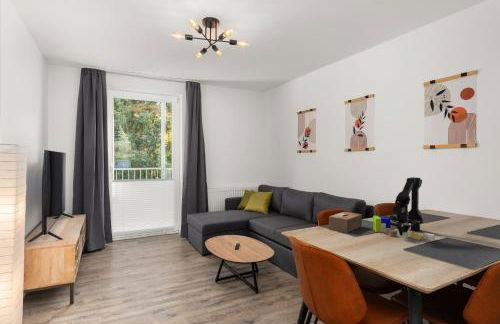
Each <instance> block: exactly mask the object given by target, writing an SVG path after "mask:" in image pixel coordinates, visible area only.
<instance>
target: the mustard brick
mask: <svg viewBox="0 0 500 324" xmlns="http://www.w3.org/2000/svg"><path fill="white" fill-rule="evenodd" d="M409 238H410V239H414V240H418V241H419V240H422V239H423V233H418V232H416V231H412V232H409Z"/></svg>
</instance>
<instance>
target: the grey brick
mask: <svg viewBox="0 0 500 324" xmlns="http://www.w3.org/2000/svg"><path fill="white" fill-rule="evenodd" d="M422 239H424V240H427V241H432V242H433V241H435V240H436V235H435V234H433V233H428V232H423V233H422Z"/></svg>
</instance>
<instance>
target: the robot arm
mask: <svg viewBox="0 0 500 324" xmlns="http://www.w3.org/2000/svg"><path fill="white" fill-rule="evenodd" d="M405 181H406V182H405V184H404V187H402V188H403V189H402V191H400V192H398V194H397V195H396V197H395V201H394V205H395V206H393V208H392V212H393V214H395V216H394V215H393V214H391V215H389V216H388V217H389V219H390V220H391V222H390V225H391V226H392V227H395V228H396V229H397V231H399V234H400V236H402V234H403V231H404V232H408V231H412V232H415V233H418V232H423V230H422V229H421V224H424V219H423V217H422V214H421V213H422V212H421V211H420V208H419V198H420V197H419V192H420V188H421V187H422V184H423V179H421V177H415V176H413V177H412V176H410V177H407V178H406V180H405ZM410 194H411V196H410ZM410 204H411V205H410ZM409 205H410V210H409V209H408V208H409V207H408V206H409Z"/></svg>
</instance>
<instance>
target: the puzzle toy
mask: <svg viewBox="0 0 500 324" xmlns="http://www.w3.org/2000/svg"><path fill="white" fill-rule="evenodd" d="M390 222H391V220H390V219H389V216H387V215H385V216H384V215H373V216H372V229H373V231H374V230H375V231H374V232H375V233H384V234H385V229H390V230H392V229H391V225H390Z"/></svg>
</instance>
